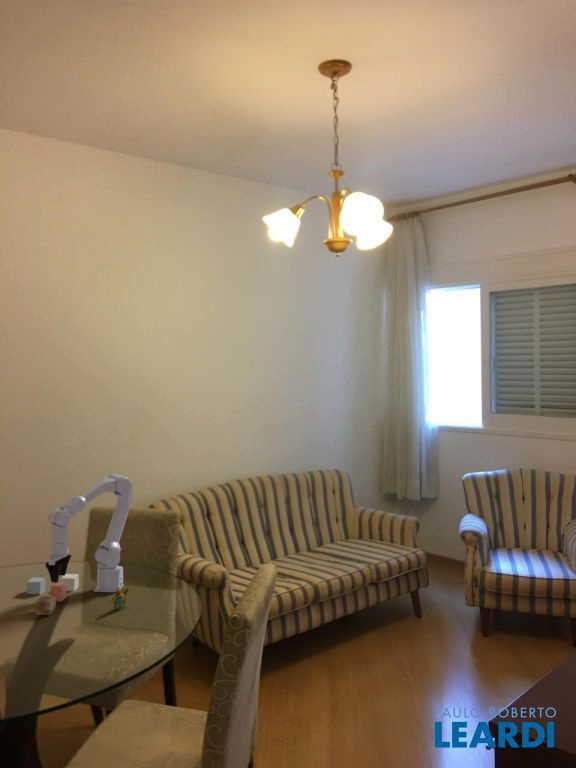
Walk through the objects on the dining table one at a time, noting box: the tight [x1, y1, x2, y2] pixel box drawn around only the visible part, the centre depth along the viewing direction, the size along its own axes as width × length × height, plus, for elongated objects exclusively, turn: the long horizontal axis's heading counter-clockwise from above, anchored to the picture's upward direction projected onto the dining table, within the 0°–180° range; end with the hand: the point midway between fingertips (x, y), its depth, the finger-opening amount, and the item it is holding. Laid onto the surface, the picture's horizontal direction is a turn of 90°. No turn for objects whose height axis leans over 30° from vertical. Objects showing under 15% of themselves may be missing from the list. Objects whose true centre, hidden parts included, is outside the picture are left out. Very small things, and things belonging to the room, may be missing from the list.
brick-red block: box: [50, 581, 67, 602], centre depth 235 cm, size 4×4×6 cm
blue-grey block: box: [26, 577, 47, 595], centre depth 242 cm, size 5×5×5 cm
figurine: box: [107, 586, 130, 612], centre depth 228 cm, size 3×12×8 cm, turn 158°
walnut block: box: [35, 595, 57, 615], centre depth 223 cm, size 5×5×5 cm
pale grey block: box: [60, 573, 80, 592], centre depth 247 cm, size 5×5×5 cm
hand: (58, 578), depth 235 cm, fingers open, 7 cm apart
